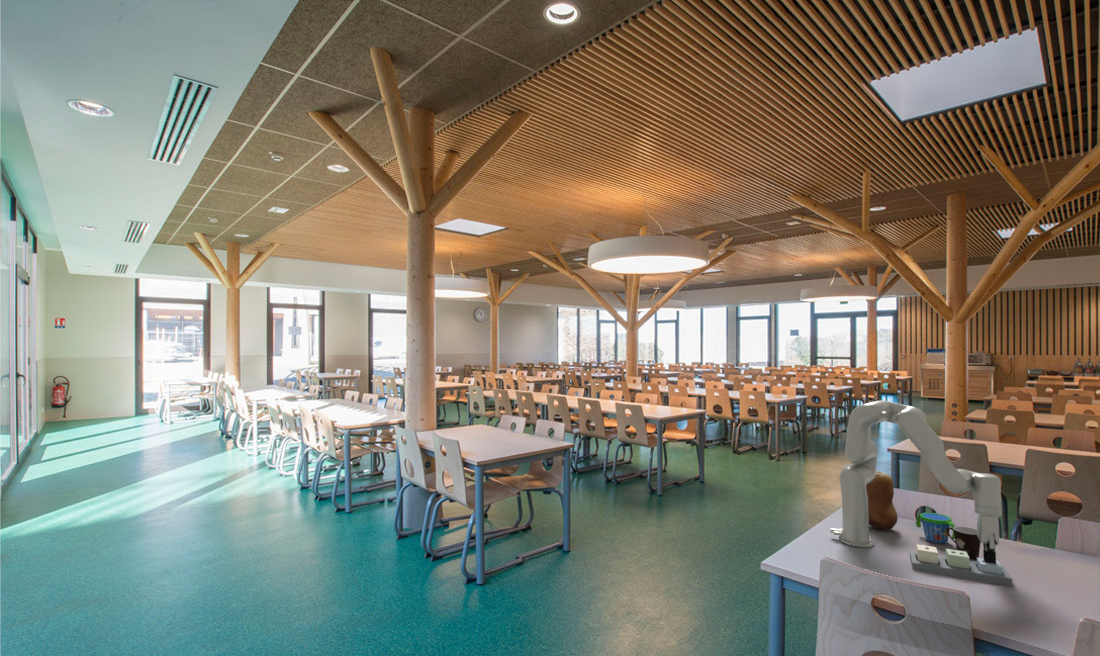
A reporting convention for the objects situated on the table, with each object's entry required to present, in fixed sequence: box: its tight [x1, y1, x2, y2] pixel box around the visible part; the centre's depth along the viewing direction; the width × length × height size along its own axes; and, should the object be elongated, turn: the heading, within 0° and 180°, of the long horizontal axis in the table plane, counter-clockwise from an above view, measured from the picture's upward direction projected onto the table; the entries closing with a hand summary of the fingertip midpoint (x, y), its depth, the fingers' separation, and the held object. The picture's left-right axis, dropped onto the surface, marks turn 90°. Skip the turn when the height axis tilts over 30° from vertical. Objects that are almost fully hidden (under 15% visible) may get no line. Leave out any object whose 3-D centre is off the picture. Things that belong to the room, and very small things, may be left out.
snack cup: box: [915, 512, 956, 545], centre depth 220 cm, size 16×10×10 cm
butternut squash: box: [866, 470, 898, 532], centre depth 236 cm, size 14×13×25 cm
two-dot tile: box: [945, 548, 970, 569], centre depth 192 cm, size 6×6×4 cm
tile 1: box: [916, 543, 939, 564], centre depth 196 cm, size 6×6×4 cm
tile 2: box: [976, 557, 1003, 575], centre depth 187 cm, size 6×6×4 cm
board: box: [909, 550, 1013, 587], centre depth 192 cm, size 28×12×2 cm, turn 60°
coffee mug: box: [947, 525, 982, 561], centre depth 206 cm, size 12×9×10 cm
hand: (989, 561), depth 187 cm, fingers closed
